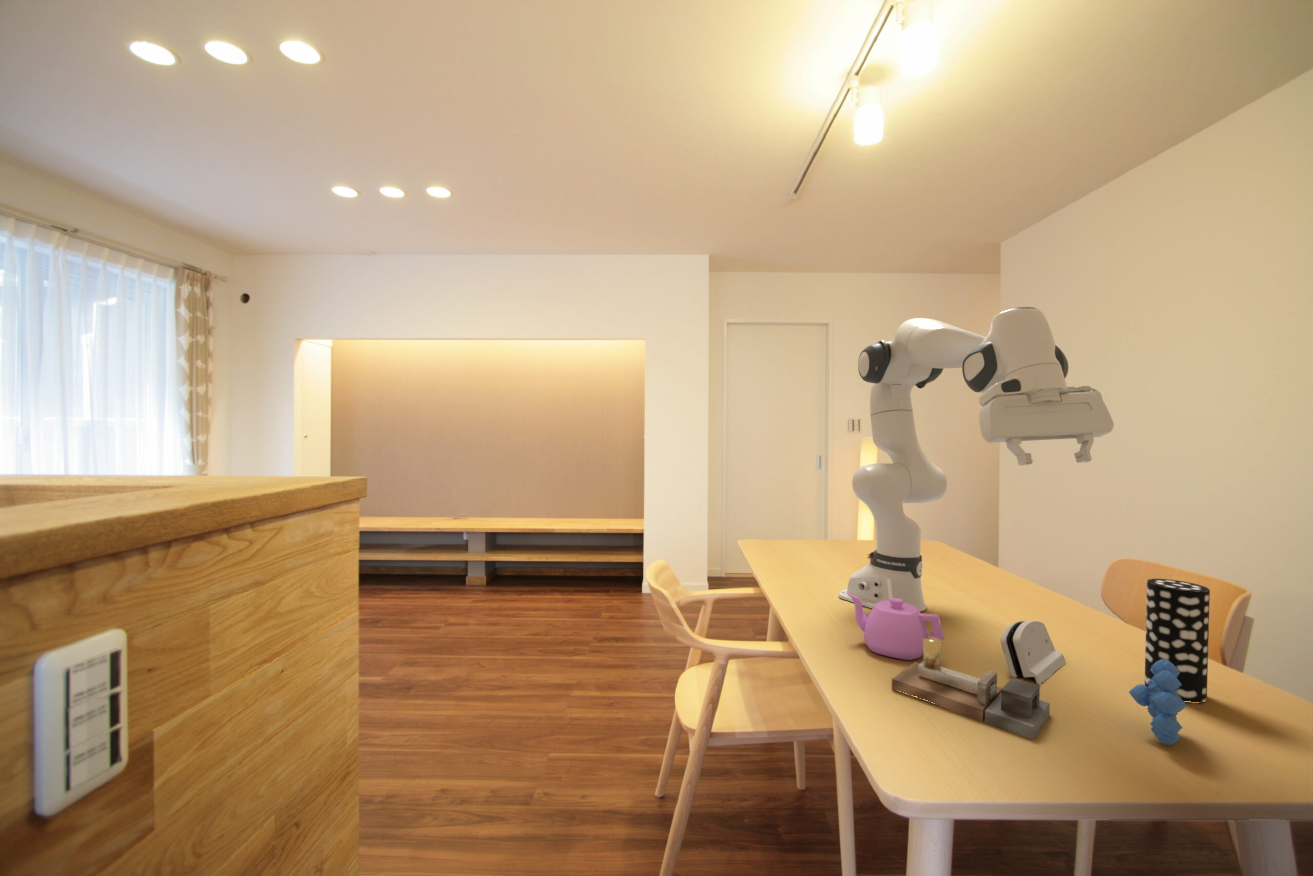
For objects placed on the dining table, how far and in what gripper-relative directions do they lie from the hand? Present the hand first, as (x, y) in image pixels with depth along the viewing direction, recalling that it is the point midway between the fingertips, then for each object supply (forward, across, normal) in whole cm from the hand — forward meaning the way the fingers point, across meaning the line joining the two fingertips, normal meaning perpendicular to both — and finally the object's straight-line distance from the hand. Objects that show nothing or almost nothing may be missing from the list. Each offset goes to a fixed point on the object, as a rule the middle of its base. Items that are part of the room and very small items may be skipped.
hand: (1055, 463), depth 93 cm
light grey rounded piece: (+35, -4, -31) cm, 47 cm away
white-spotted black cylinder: (+39, -24, -23) cm, 52 cm away
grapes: (+43, -9, -8) cm, 45 cm away
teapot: (+32, +21, -36) cm, 52 cm away
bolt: (+36, +17, -15) cm, 43 cm away
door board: (+39, +16, -15) cm, 45 cm away
